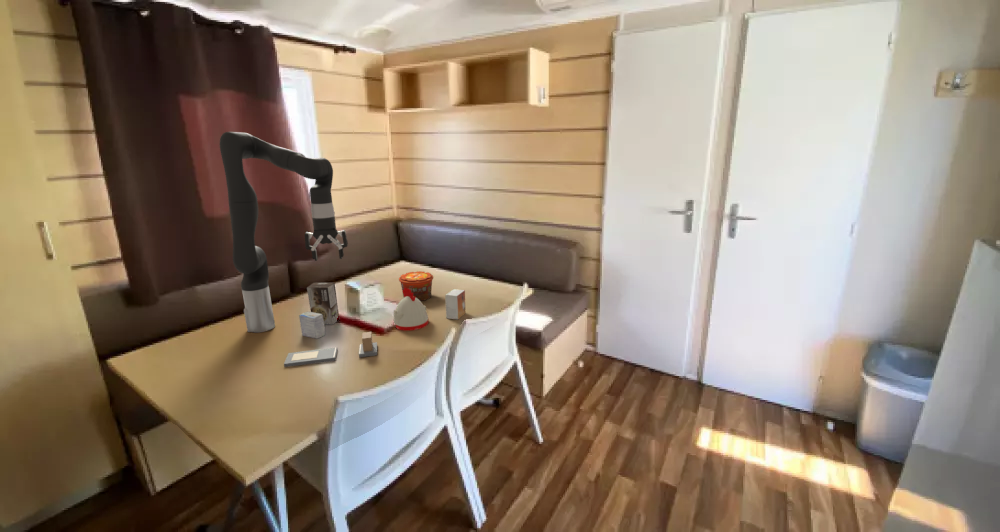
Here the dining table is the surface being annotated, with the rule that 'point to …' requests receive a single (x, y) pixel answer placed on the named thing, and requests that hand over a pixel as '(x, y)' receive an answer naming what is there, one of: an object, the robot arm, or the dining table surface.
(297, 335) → the dining table surface
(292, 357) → the ticket
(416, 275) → the food container
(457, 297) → the small box
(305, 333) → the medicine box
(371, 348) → the stub
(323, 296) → the coffee box
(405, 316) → the kitchen timer
